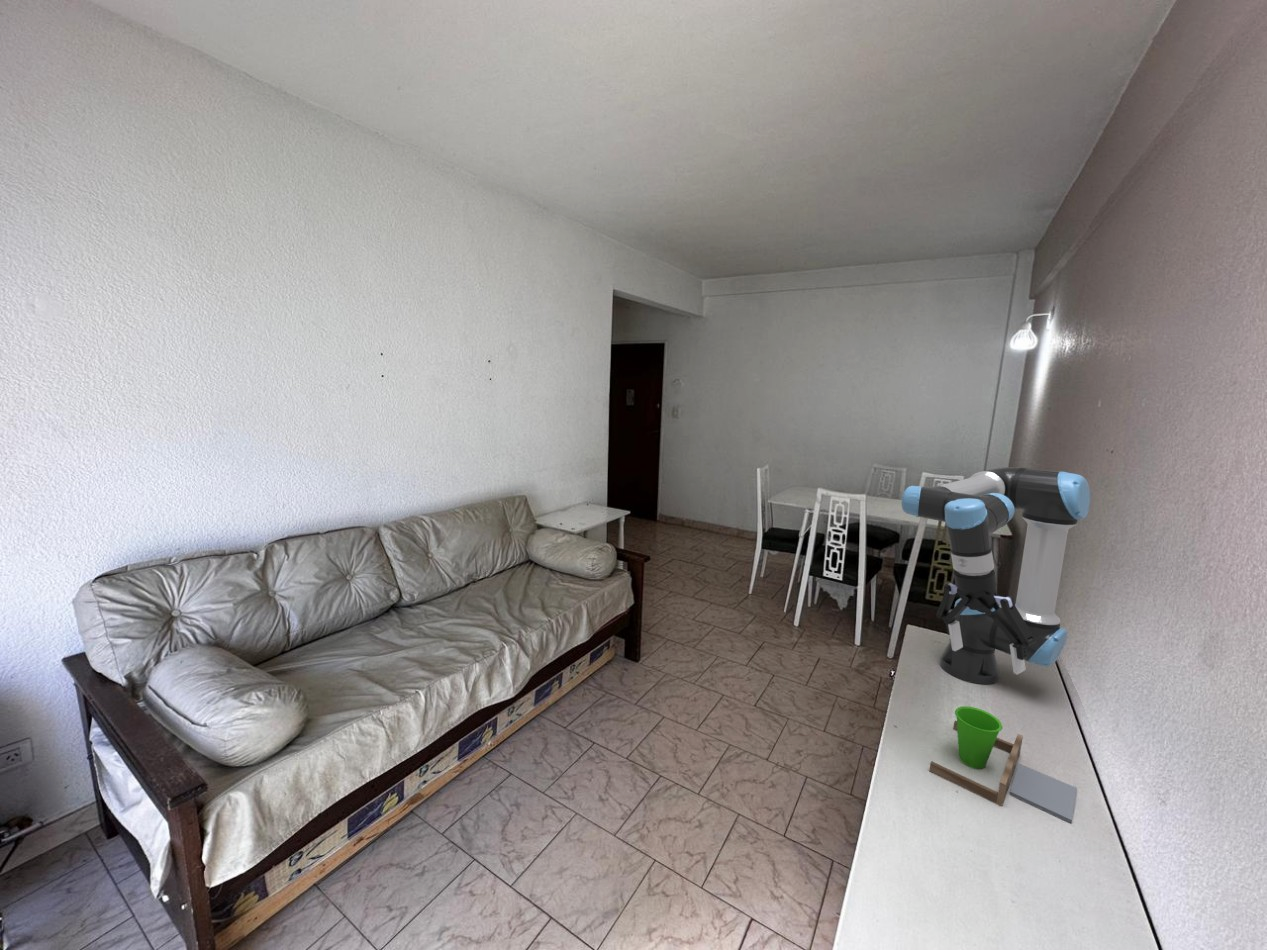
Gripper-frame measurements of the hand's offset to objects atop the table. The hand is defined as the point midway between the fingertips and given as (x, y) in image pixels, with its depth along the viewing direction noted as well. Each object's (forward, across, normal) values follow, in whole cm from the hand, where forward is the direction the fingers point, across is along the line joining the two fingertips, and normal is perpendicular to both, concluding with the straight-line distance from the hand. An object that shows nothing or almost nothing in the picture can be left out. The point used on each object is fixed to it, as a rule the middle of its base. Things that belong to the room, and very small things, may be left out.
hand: (986, 659), depth 112 cm
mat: (+27, +8, 0) cm, 29 cm away
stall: (+25, -3, -5) cm, 26 cm away
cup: (+25, -3, -5) cm, 26 cm away
